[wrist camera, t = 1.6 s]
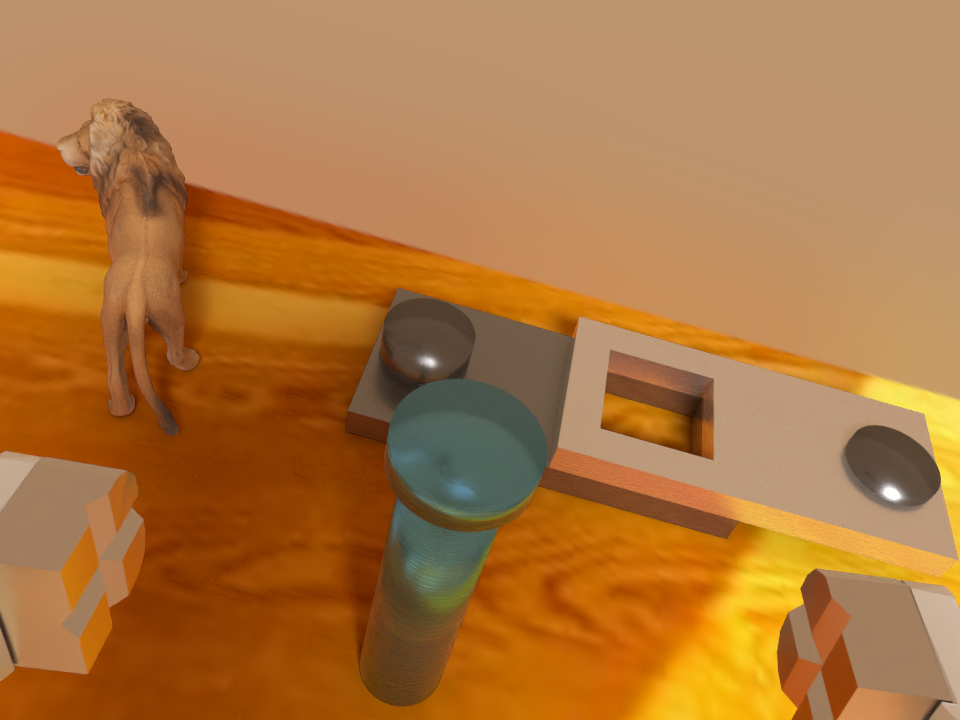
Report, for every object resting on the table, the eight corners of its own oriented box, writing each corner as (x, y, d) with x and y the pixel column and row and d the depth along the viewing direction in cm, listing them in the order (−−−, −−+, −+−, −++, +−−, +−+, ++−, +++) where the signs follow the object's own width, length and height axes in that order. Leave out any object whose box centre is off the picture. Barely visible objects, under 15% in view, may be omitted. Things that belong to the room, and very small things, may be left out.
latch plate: (344, 431, 41) (352, 381, 39) (394, 308, 47) (403, 258, 45) (921, 593, 41) (965, 554, 39) (893, 449, 48) (929, 407, 45)
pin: (319, 658, 33) (355, 425, 24) (405, 592, 36) (469, 357, 26) (396, 747, 32) (468, 537, 22) (480, 671, 34) (579, 452, 24)
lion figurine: (71, 239, 46) (45, 84, 40) (176, 228, 49) (167, 80, 42) (114, 455, 38) (90, 302, 32) (239, 430, 40) (240, 283, 34)
